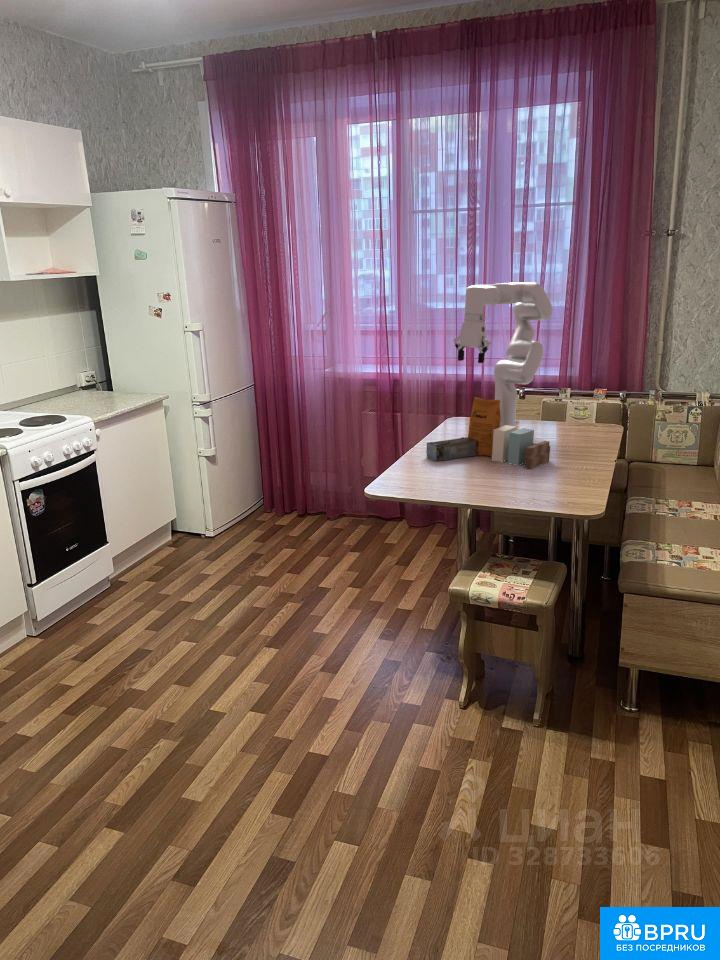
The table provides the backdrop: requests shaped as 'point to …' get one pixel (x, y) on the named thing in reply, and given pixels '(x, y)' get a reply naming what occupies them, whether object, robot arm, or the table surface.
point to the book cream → (501, 442)
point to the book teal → (519, 445)
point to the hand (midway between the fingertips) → (470, 361)
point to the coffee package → (484, 424)
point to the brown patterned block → (537, 454)
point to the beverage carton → (451, 449)
